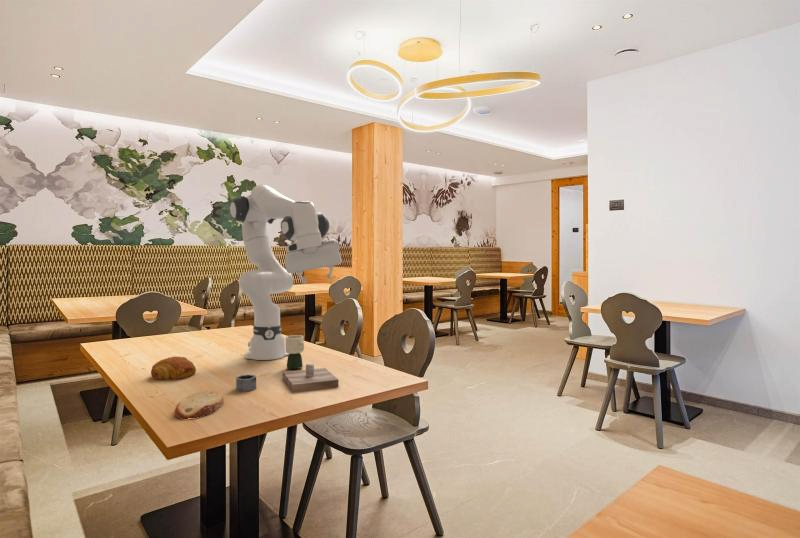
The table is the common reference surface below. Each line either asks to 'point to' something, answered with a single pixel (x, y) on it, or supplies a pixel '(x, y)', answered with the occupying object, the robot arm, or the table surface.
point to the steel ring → (245, 383)
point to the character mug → (294, 351)
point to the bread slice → (199, 404)
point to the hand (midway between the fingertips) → (317, 281)
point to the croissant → (173, 368)
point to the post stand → (310, 379)
